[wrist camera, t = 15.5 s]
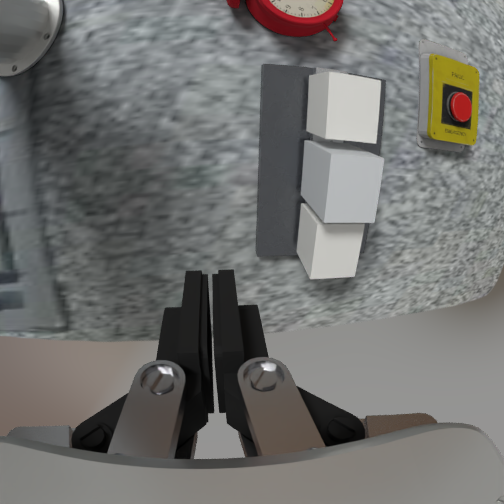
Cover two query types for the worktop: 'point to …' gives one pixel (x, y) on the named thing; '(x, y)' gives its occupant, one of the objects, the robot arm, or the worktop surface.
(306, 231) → the mounted modules
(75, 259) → the worktop surface
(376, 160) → the block
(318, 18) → the alarm clock
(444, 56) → the emergency button
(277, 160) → the board
